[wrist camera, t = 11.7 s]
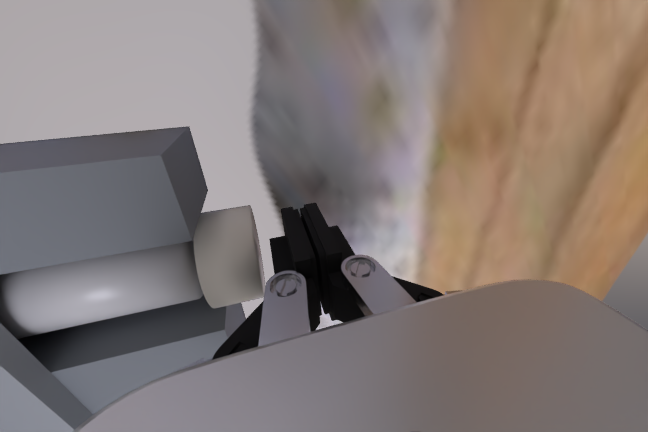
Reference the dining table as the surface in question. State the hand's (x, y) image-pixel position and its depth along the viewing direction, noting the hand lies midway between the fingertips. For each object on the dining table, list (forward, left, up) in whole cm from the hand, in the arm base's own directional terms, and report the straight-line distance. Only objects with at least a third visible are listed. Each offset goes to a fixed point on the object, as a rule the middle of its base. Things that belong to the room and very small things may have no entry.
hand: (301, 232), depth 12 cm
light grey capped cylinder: (0, -7, -1) cm, 7 cm away
